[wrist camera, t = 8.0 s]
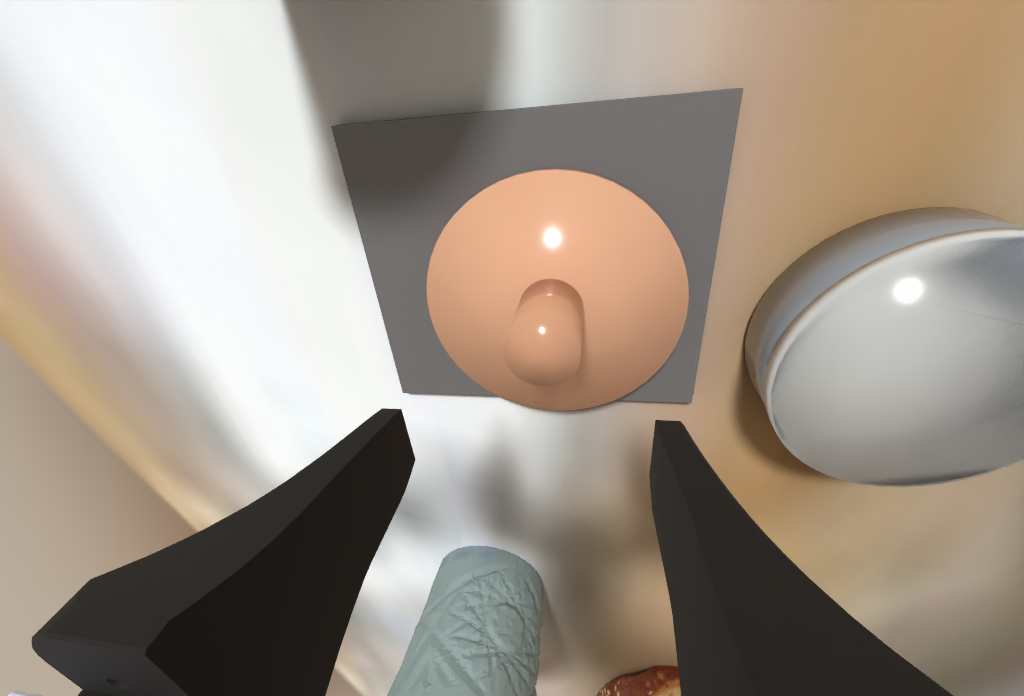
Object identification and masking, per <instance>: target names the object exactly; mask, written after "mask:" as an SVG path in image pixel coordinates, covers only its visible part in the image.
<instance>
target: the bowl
mask: <svg viewBox="0 0 1024 696" xmlns="http://www.w3.org/2000/svg"><path fill="white" fill-rule="evenodd" d="M745 360H746V365H747V370H748V373H749V375H750V378H751V380H752V382H753V384H754V386H755V388H756V390H757V392H758V394H759V396H760V398H761V400H762V402H763V404H764V405H765V407H766V412H767V414H768V417H769V419H770V422H771V424H772V426H773V428H774V430H775V432H776V434H777V435H778V437H779V438H780V440H781V442H782V443H783V445H784V446H785V447H786V448H787V449H788V450H789V451H790V452H791V453H792V454H793V455H794V456H795V457H797V458H798V459H799V460H800V461H802V462H803V463H805V464H806V465H808V466H810V467H811V468H813V469H815V470H817V471H819V472H821V473H824V474H826V475H829V476H831V477H834V478H838V479H841V480H844V481H848V482H853V483H858V484H863V485H872V486H881V487H914V486H927V485H935V484H943V483H949V482H954V481H959V480H964V479H968V478H972V477H976V476H979V475H983V474H987V473H990V472H993V471H996V470H999V469H1002V468H1005V467H1008V466H1010V465H1013V464H1015V463H1017V462H1020V461H1022V460H1024V226H1022V225H1019V224H1016V223H1013V222H1010V221H1007V220H1004V219H1001V218H998V217H995V216H992V215H989V214H985V213H982V212H978V211H975V210H968V209H961V208H951V207H929V208H919V209H910V210H905V211H900V212H895V213H890V214H886V215H883V216H879V217H876V218H873V219H870V220H866V221H864V222H861V223H859V224H856V225H854V226H852V227H849V228H847V229H844V230H843V231H841V232H839V233H837V234H835V235H833V236H831V237H829V238H827V239H825V240H824V241H822V242H821V243H819V244H818V245H816V246H815V247H813V248H812V249H810V250H809V251H807V252H806V253H805V254H803V255H802V256H801V257H800V258H798V259H797V260H796V261H795V262H793V263H792V264H791V265H790V266H789V267H788V268H787V269H786V270H785V271H784V272H783V273H782V274H781V275H780V276H779V277H778V278H777V279H776V280H775V281H774V283H773V284H772V285H771V286H770V288H769V289H768V290H767V291H766V293H765V294H764V296H763V297H762V299H761V301H760V302H759V304H758V305H757V307H756V309H755V312H754V314H753V316H752V318H751V321H750V324H749V327H748V330H747V334H746V341H745Z"/></svg>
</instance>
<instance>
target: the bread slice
mask: <svg viewBox="0 0 1024 696" xmlns="http://www.w3.org/2000/svg"><path fill="white" fill-rule="evenodd" d="M597 696H681V690H680V680H679V670H678V667H674V666H654V667H652V668H650V669H648V670H646V671H643V672H639V673H635V674H628V675H624V676H621V677H618V678H616V679H613V680H612V681H610V682H608V683H607V684H606V685H605V687H604V688H602V689H601V690H600V692H599V693H598V695H597Z"/></svg>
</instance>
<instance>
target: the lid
mask: <svg viewBox="0 0 1024 696" xmlns="http://www.w3.org/2000/svg"><path fill="white" fill-rule="evenodd" d="M426 288H427V302H428V307H429V312H430V317H431V320H432V323H433V326H434V329H435V331H436V333H437V335H438V337H439V340H440V342H441V344H442V345H443V347H444V348H445V350H446V351H447V353H448V354H449V356H450V357H451V358H452V360H453V361H454V362H455V363H456V364H457V366H458V367H459V368H460V369H461V370H462V371H463V372H464V373H465V374H466V375H468V376H469V377H470V378H471V379H472V380H474V381H475V382H476V383H478V384H479V385H480V386H482V387H483V388H485V389H487V390H488V391H490V392H491V393H493V394H495V395H497V396H499V397H501V398H504V399H506V400H508V401H511V402H514V403H517V404H520V405H523V406H528V407H532V408H537V409H544V410H559V411H566V410H579V409H585V408H591V407H595V406H599V405H602V404H606V403H608V402H611V401H613V400H616V399H618V398H621V397H623V396H624V395H626V394H628V393H630V392H632V391H633V390H635V389H636V388H638V387H639V386H641V385H642V384H643V383H645V382H646V381H647V380H648V379H649V378H651V377H652V376H653V375H654V374H655V373H656V372H657V371H658V370H659V369H660V368H661V366H662V365H663V364H664V363H665V362H666V360H667V359H668V358H669V356H670V354H671V353H672V351H673V350H674V348H675V347H676V344H677V342H678V340H679V338H680V336H681V333H682V331H683V327H684V324H685V320H686V317H687V310H688V303H689V285H688V278H687V272H686V267H685V264H684V261H683V258H682V255H681V252H680V249H679V247H678V245H677V243H676V241H675V239H674V237H673V236H672V234H671V232H670V230H669V228H668V227H667V225H666V224H665V223H664V221H663V220H662V218H661V217H660V216H659V214H658V213H657V212H656V211H655V210H654V209H653V208H652V207H651V206H650V205H649V204H648V203H647V202H646V201H645V200H644V199H642V198H641V197H640V196H638V195H637V194H636V193H634V192H633V191H632V190H630V189H629V188H627V187H625V186H623V185H621V184H619V183H617V182H616V181H614V180H612V179H609V178H606V177H603V176H601V175H598V174H595V173H591V172H586V171H582V170H577V169H566V168H546V169H535V170H530V171H526V172H521V173H517V174H514V175H512V176H509V177H506V178H504V179H501V180H499V181H497V182H495V183H493V184H492V185H490V186H488V187H486V188H484V189H483V190H482V191H480V192H479V193H478V194H476V195H475V196H474V197H472V198H471V199H470V200H469V201H468V202H466V203H465V204H464V205H463V206H462V207H461V208H460V209H459V210H458V211H457V212H456V213H455V214H454V216H453V217H452V218H451V220H450V221H449V222H448V224H447V225H446V226H445V228H444V229H443V231H442V233H441V235H440V236H439V238H438V240H437V242H436V244H435V247H434V250H433V253H432V255H431V258H430V263H429V268H428V273H427V287H426Z"/></svg>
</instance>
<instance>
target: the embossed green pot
mask: <svg viewBox="0 0 1024 696" xmlns="http://www.w3.org/2000/svg"><path fill="white" fill-rule="evenodd" d="M542 596H543V588H542V583H541V579H540V577H539V575H538V573H537V572H536V571H535V569H534V568H533V567H532V566H531V565H530V564H528V563H527V562H526V561H524V560H523V559H521V558H520V557H518V556H516V555H514V554H512V553H509V552H506V551H504V550H500V549H496V548H492V547H485V546H469V547H463V548H459V549H456V550H454V551H452V552H451V553H449V554H448V555H447V556H446V557H445V558H444V559H443V561H442V563H441V565H440V568H439V570H438V573H437V575H436V577H435V580H434V582H433V585H432V588H431V591H430V594H429V597H428V601H427V603H426V605H425V608H424V610H423V613H422V616H421V618H420V621H419V623H418V624H417V626H416V628H415V632H414V635H413V637H412V640H411V642H410V645H409V647H408V650H407V652H406V655H405V657H404V660H403V663H402V665H401V668H400V670H399V672H398V674H397V676H396V678H395V680H394V682H393V684H392V686H391V689H390V691H389V693H388V695H387V696H537V694H536V689H535V685H536V681H537V675H538V667H539V659H538V656H539V647H540V637H539V634H540V628H541V620H542Z"/></svg>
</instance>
